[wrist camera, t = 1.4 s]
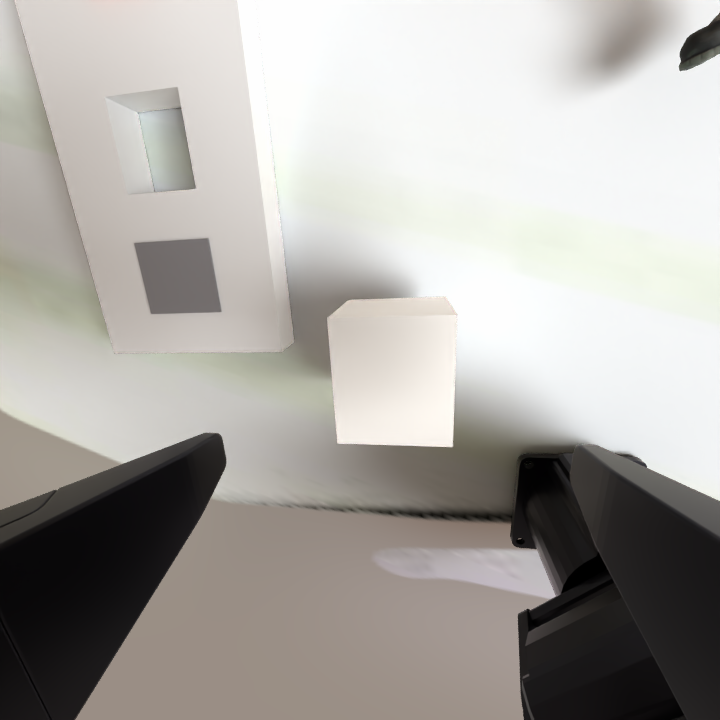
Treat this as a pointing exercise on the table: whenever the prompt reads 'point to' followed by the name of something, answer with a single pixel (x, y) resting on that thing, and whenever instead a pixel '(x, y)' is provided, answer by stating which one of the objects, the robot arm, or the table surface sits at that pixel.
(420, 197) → the table surface
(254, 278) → the power strip
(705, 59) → the action figure
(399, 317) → the block
